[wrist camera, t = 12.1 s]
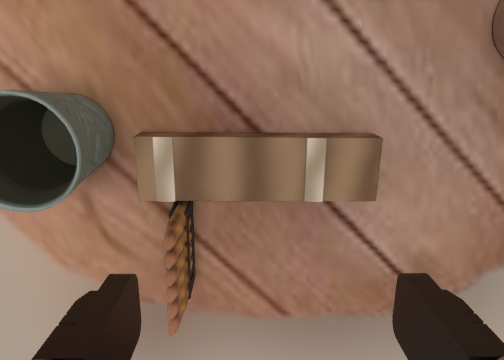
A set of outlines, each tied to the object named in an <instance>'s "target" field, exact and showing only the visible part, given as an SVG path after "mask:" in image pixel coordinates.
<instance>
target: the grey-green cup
mask: <svg viewBox="0 0 504 360" xmlns="http://www.w3.org/2000/svg"><path fill="white" fill-rule="evenodd" d="M113 142H114V130H113V126H112V123H111V120H110V118H109V116H108V115H107V113H106V112H105V110H104V109H103V108H102V107H101V106H100V105H99V104H97V103H96V102H94V101H93V100H91V99H89V98H87V97H85V96H81V95H77V94H68V93H49V92H28V91H16V90H0V208H3V209H6V210H11V211H18V212H36V211H41V210H44V209H47V208H50V207H52V206H54V205H56V204H58V203H59V202H61V201H62V200H63V199H65V198H66V197H67V196H68V195H69V194H70V193H71V192H72V191H73V190H74V189H75V188H76V186H77V185H78V184H79V183H80V182H81V181H83V180H84V179H85V178H86V177H87V176H88V175H90V174H91V173H92V172H93V171H94V170H95V169H96V168H97V167H98V166H99V165H100V164H102V163H103V162H104V161H105V160H106V159H107V157H108V156H109V154H110V152H111V150H112V147H113Z"/></svg>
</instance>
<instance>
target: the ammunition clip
mask: <svg viewBox="0 0 504 360" xmlns="http://www.w3.org/2000/svg"><path fill="white" fill-rule="evenodd" d="M169 218H170V220H169V223H168V225H167V228H166V234H165V238H164V242H163V245H164V249H165V251H166V255H165V267H166V269H167V272H166V285H167V287H168V288H167V293H166V296H167V302H168V309H167V312H168V318H169V323H168V330H169V334H170V336H173V335H174V334H175V333H176V331H177V330H178V328H179V325H180V322H181V319H182V316H183V314H184V312H185V310H186V306H187V302H188V299H190V297H191V293H192V288H193V284H194V279H195V254H194V225H193V201H175V202H174V204H173V207H172V209H171V211H170V214H169Z"/></svg>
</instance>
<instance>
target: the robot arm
mask: <svg viewBox="0 0 504 360" xmlns="http://www.w3.org/2000/svg"><path fill="white" fill-rule="evenodd" d="M493 37H494V41H495V44H496V47H497V49H498V51H499V52H500V54H501V55H502V56H503V57H504V0H501V1H500V3H499V5H498V8H497V10H496V13H495V17H494V20H493ZM393 330H394V333H395V337H396V339H397V341H398V343H399V344H400V346H401V348H402V350H403V351H404V353H405V355H406V356H407V359H408V360H504V343H503V342H502V341H501V340H500V339H499V338H498V337H497V335H496V334H495V333H494V332H493V331H492V330H491V329H490V328H489V327H488V326H487V325H486V324H483V321H482V320H481V319H480V318H479V317H478V316H477V315H476V314H474V311H473V310H472V309H471V308H470V307H469V306H468V305H467V304H466V303H465V302H464V301H463V300H462V299H461V298H459V297H457V296H456V295H454V294H452V293H451V292H449V291H447V290H442V289H441V288H440V287H439V286H438V285H437V284H436V283H435V282H434V281H433V279H432V278H431V277H430V276H429V275H428V274H426V273H401V274H399V276H398V279H397V285H396V293H395V301H394V310H393ZM140 331H141V311H140V299H139V289H138V279H137V276H136V274H110V275H108V277H107V278H106V280H105V281H104V283H103V284H102V285H101V287H100V288H99V290H98V291H89V292H88V293H86V294H85V295H84V296H82V297H81V298H79V299H78V300H76V301H75V303H74V304H73V305H72V306H71V308H70V309H69V310H68V312H67V315H65V316H64V317H63V318H62V320H61V321H60V322H59V326H57V327H56V328H55V329H54V330H53V332H52V333H51V335H50V336H49V337H48V338H47V340H46V341H45V342H44V344H43V345H42V346H41V348H40V349H39V350H38V352H37V353H36V354H35V356H34V357H33V358H32V360H130V359H131V357H132V355H133V352H134V350H135V347H136V344H137V342H138V339H139V336H140Z"/></svg>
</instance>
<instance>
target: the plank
mask: <svg viewBox="0 0 504 360" xmlns="http://www.w3.org/2000/svg"><path fill="white" fill-rule="evenodd" d="M382 140H383V138H381V137H379V136H377V135H375V134H331V133H183V132H141V133H139V134H138V135H136V136H134V144H135V157H136V170H137V184H138V197H139V201H157V202H175V201H304V202H323V201H376V197H377V187H378V178H379V168H380V159H381V150H382Z"/></svg>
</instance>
